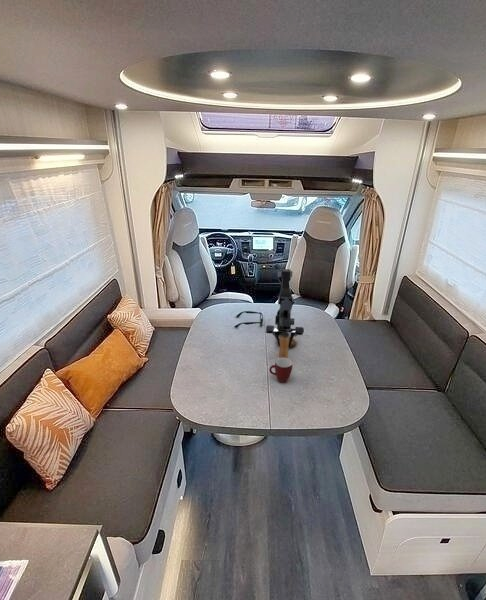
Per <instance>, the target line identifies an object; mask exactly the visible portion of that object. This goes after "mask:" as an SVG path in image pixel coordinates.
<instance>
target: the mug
mask: <svg viewBox="0 0 486 600" xmlns="http://www.w3.org/2000/svg"><path fill="white" fill-rule="evenodd" d="M272 369H274V370H275V371H274V372H273V371H272ZM268 371H269V373H270V374H271V375H273V376H275V377H276V379H277V380H278V382H279V383H286V382H287V381H288V380H289V379H290V377H291V374H292V371H293V361H292V360H291V358H289V357H288V358H279V357H278V358H276V359H275V361H274V364H272V365H270V366H269V368H268Z"/></svg>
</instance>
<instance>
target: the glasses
mask: <svg viewBox="0 0 486 600" xmlns="http://www.w3.org/2000/svg"><path fill="white" fill-rule="evenodd" d="M244 313H245V314H258V315H259V319H260V321H246V322H240V323H237V324H235V325H234V328H236V329H237V328H239V327H240V326H241V325H246V326H247V325H248V326H249V325H254V324H255V325H256V324H260V325H259V327H262V325H263V322H264V315H263V313H262V312H260V311H259V312H258V311H251V310H244V311H241V312H239V313H238V314H237V315H235V317H236V318H240V316H241V315H242V314H244Z"/></svg>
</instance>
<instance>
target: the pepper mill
mask: <svg viewBox="0 0 486 600" xmlns="http://www.w3.org/2000/svg"><path fill="white" fill-rule="evenodd" d="M279 338H280V342H279V343H280V344H279V347H278V358H288V359H289V350H290V348H289V338H290V334H289V332H287V333H282V334H281V335H279Z"/></svg>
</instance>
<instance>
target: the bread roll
mask: <svg viewBox="0 0 486 600" xmlns="http://www.w3.org/2000/svg"><path fill="white" fill-rule="evenodd" d="M289 340H290V338H289ZM279 342H280V337H279ZM276 344H277V345H278V343H277V342H276ZM296 345H297V340H296V339H295V337H293V339H292V342H291V345H290V347H289V349H291V348H294V347H295V346H296Z"/></svg>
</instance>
